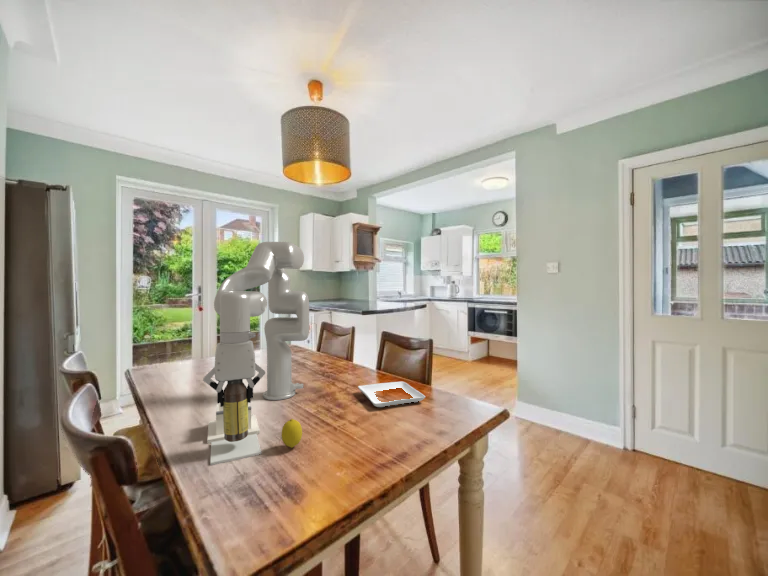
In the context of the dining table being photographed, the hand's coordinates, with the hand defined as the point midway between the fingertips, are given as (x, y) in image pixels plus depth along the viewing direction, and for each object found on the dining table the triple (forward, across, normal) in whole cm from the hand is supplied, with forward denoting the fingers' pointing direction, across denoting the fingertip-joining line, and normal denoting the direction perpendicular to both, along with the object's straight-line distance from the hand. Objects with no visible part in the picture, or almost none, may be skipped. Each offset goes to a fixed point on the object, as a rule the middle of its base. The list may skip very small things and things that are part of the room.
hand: (235, 402), depth 90 cm
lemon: (+13, -14, +6) cm, 20 cm away
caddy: (+13, 0, -14) cm, 19 cm away
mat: (+13, 0, 0) cm, 13 cm away
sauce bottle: (+10, 0, 0) cm, 10 cm away
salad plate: (+13, -57, -17) cm, 61 cm away
